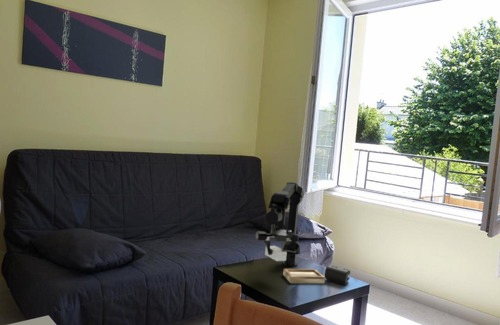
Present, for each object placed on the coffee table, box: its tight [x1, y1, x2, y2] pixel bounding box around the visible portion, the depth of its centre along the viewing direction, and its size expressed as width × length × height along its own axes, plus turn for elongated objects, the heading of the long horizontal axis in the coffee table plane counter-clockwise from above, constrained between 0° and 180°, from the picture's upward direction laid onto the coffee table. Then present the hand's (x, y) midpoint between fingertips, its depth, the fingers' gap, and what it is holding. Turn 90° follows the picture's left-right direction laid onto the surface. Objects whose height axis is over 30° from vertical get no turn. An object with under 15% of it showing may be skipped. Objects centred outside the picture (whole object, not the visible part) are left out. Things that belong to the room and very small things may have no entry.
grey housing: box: [264, 245, 287, 262], centre depth 177 cm, size 10×5×4 cm, turn 28°
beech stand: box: [282, 268, 326, 284], centre depth 180 cm, size 11×16×3 cm
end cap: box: [324, 265, 351, 286], centre depth 180 cm, size 10×7×7 cm
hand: (275, 255), depth 177 cm, fingers closed on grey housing, 6 cm apart
